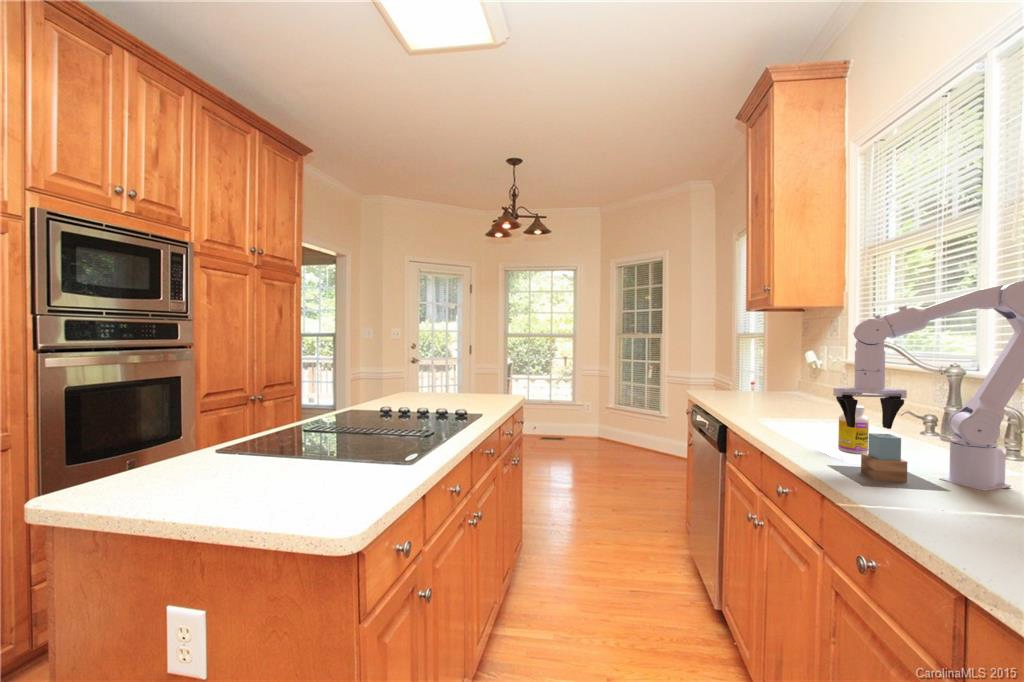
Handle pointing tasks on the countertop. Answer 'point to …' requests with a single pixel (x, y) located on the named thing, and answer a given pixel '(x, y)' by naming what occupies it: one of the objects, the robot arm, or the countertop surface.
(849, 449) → the supplement bottle
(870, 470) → the slab bottom
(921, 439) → the countertop surface
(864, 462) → the slab top
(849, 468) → the mat
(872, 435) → the blue block
